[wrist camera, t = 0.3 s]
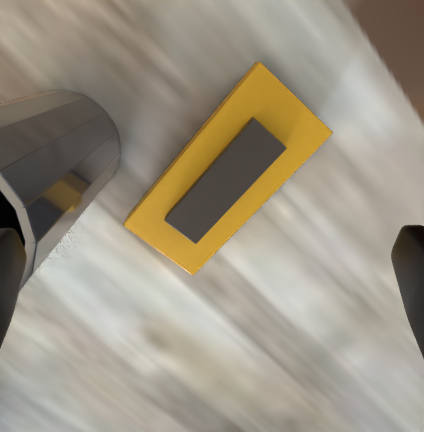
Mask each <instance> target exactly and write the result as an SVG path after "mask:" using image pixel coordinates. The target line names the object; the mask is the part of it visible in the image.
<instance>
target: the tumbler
mask: <svg viewBox="0 0 424 432" xmlns="http://www.w3.org/2000/svg"><path fill="white" fill-rule="evenodd" d="M120 156H121V142H120V137H119V133H118V131H117V128H116V126H115V124H114V122H113V120H112V119H111V117H110V116H109V114H108V113H107V112H106V111H105V110H104V109H103V108H102V107H101V106H100V105H99V104H98V103H96V102H95V101H93V100H92V99H90V98H88V97H87V96H85V95H82V94H80V93H76V92H72V91H66V90H56V91H50V92H42V93H38V94H33V95H29V96H25V97H21V98H16V99H12V100H8V101H4V102H0V228H13V229H15V230H16V231H17V233H18V235H19V238H20V240H21V242H22V244H23V246H24V249H25V251H26V253H27V264H26V268H25V271H24V275H23V279H22V283H21V286H20V290H21V289H22V288H23V287H24V285H25V284H26V283H27V282H28V280H29V279H30V278H31V277H32V276H33V274H34V273H35V272H36V271H37V269H38V268H39V267H40V266H41V264H42V263H43V262H44V261H45V259H46V258H47V257H48V256H49V254H50V253H51V252H52V251H53V249H54V248H55V247H56V246H57V244H58V243H59V242H60V241H61V239H62V238H63V237H64V236H65V234H66V233H67V232H68V231H69V229H70V228H71V227H72V226H73V224H74V223H75V222H76V221H77V219H78V218H79V217H80V216H81V214H82V213H83V212H84V211H85V210H86V208H87V207H88V206H89V205H90V203H91V202H92V201H93V200H94V198H95V197H96V196H97V195H98V193H99V192H100V191H101V190H102V188H103V187H104V186H105V185H106V183H107V182H108V181H109V179H110V178H111V177H112V176H113V174H114V173H115V171H116V169H117V167H118V164H119V161H120ZM20 290H19V292H20Z"/></svg>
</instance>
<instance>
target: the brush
mask: <svg viewBox="0 0 424 432" xmlns="http://www.w3.org/2000/svg"><path fill="white" fill-rule="evenodd" d="M332 133H333V132H332V131H331V130H330V129H329V128H328V127H327V126H326V125H325V124H324V123H323V122H322V121H321V120H320V119H318V118H317V117H316V116H315V115H314V114H313V113H312V112H311V111H310V110H309V109H308V108H307V107H306V106H305V105H304V104H303V103H302V102H301V101H300V100H299V99H298V98H297V97H296V96H295V95H294V94H293V93H292V92H291V91H290V90H289V89H288V88H286V87H285V86H284V85H283V84H282V83H281V82H280V81H279V80H278V79H277V78H276V77H275V76H274V75H273V74H272V73H271V72H270V71H269V70H268V69H267V68H266V67H265V66H264V65H263V64H262V63H260V62H255V64H254V65H253V66H252V67H251V68H250V69H249V71H248V72H247V73H246V74H245V75H244V77H243V78H242V79H241V80H240V81H239V83H238V84H237V85H236V86H235V87H234V89H233V90H232V91H231V92H230V93H229V95H228V96H227V97H226V98H225V99H224V101H223V102H222V103H221V104H220V105H219V107H218V108H217V109H216V110H215V111H214V113H213V114H212V115H211V116H210V117H209V119H208V120H207V121H206V122H205V123H204V125H203V126H202V127H201V128H200V129H199V131H198V132H197V133H196V134H195V135H194V137H193V138H192V139H191V140H190V141H189V143H188V144H187V145H186V146H185V147H184V149H183V150H182V151H181V152H180V153H179V155H178V156H177V157H176V158H175V159H174V161H173V162H172V163H171V164H170V165H169V166H168V168H167V169H166V170H165V171H164V172H163V174H162V175H161V176H160V177H159V178H158V180H157V181H156V182H155V183H154V184H153V186H152V187H151V188H150V189H149V190H148V192H147V193H146V194H145V195H144V196H143V198H142V199H141V200H140V201H139V202H138V204H137V205H136V206H135V207H134V208H133V210H132V211H131V212H130V213H129V214H128V216H127V218H126V220H125V222H124V224H123V225H124V226H125V227H126V228H128V229H129V230H130V231H132V232H133V233H135V234H136V235H137V236H139V237H140V238H142V239H143V240H144V241H146V242H147V243H149V244H150V245H151V246H153V247H154V248H156V249H157V250H158V251H160V252H161V253H163V254H164V255H165V256H167V257H168V258H170V259H171V260H172V261H174V262H175V263H176V264H178V265H179V266H181V267H182V268H183V269H185V270H186V271H188V272H189V273H190V274H192V275H194V274H195V273H196V272H197V271H198V270H199V269H200V268H201V267H202V266H203V265H204V264H205V263H206V262H207V261H208V260H209V259H210V258H211V257H212V256H213V255H214V254H215V253H216V252H217V251H218V250H219V249H220V248H221V247H222V245H223V244H224V243H225V242H226V241H227V240H228V239H229V238H230V237H231V236H232V235H233V234H234V233H235V232H236V231H237V230H238V229H239V228H240V227H241V226H242V225H243V224H244V223H245V222H246V221H247V220H248V219H249V218H250V217H251V216H252V215H253V214H254V213H255V212H256V211H257V210H258V209H259V208H260V207H261V206H262V205H263V204H264V203H265V202H266V201H267V200H268V199H269V198H270V197H271V196H272V195H273V193H274V192H275V191H276V190H277V189H278V188H279V187H280V186H281V185H282V184H283V183H284V182H285V181H286V180H287V179H288V178H289V177H290V176H291V175H292V174H293V173H294V172H295V171H296V170H297V169H298V168H299V167H300V166H301V165H302V164H303V163H304V162H305V161H306V160H307V159H308V158H309V157H310V156H311V155H312V154H313V153H314V152H315V151H316V150H317V149H318V148H319V147H320V146H321V145H322V144H323V142H324V141H325V140H326V139H327V138H328V137H329V136H330V135H331V134H332Z"/></svg>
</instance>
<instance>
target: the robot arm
mask: <svg viewBox="0 0 424 432" xmlns="http://www.w3.org/2000/svg"><path fill="white" fill-rule="evenodd" d="M391 259H392V263H393V267H394V271H395V274H396V278H397V282H398V285H399V289H400V293H401V296H402V300H403V304H404V308H405V311H406V314H407V317H408V320H409V323H410V325H411V328H412V331H413V333H414V336H415V338H416V341H417V343H418V346H419V348H420V351H421V353H422V356H423V358H424V226H422V225H405V226H403V227H402V228H401V230H400V232H399V234H398V237H397V239H396V242H395V244H394V246H393V249H392V253H391ZM26 264H27V253H26V251H25V249H24V246H23V244H22V242H21V240H20V238H19V235H18V233H17V231H16V230H15V229H13V228H0V348H1V345H2V343H3V340H4V337H5V335H6V332H7V330H8V327H9V324H10V322H11V319H12V316H13V312H14V309H15V305H16V301H17V297H18V294H19V290H20V286H21V283H22V279H23V275H24V271H25V268H26Z"/></svg>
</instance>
